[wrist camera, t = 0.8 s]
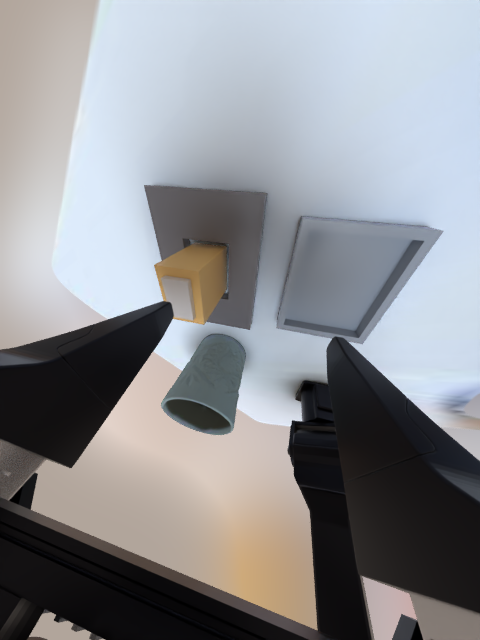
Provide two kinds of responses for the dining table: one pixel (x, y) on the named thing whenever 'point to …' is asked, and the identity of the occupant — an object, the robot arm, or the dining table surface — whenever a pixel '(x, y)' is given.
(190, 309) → the block
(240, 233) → the grey flat frame
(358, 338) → the parts tray
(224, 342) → the grey green pot
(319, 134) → the dining table surface
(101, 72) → the dining table surface
